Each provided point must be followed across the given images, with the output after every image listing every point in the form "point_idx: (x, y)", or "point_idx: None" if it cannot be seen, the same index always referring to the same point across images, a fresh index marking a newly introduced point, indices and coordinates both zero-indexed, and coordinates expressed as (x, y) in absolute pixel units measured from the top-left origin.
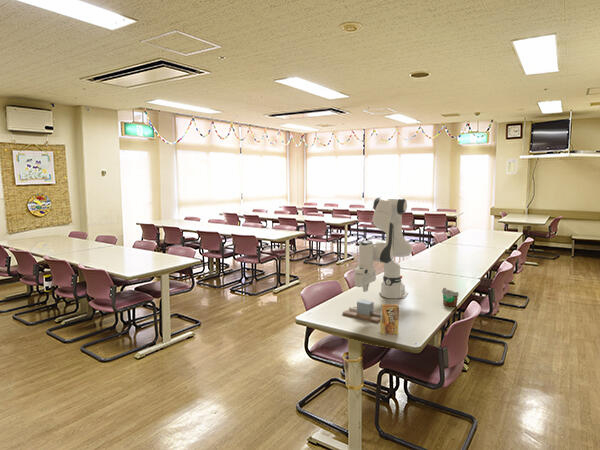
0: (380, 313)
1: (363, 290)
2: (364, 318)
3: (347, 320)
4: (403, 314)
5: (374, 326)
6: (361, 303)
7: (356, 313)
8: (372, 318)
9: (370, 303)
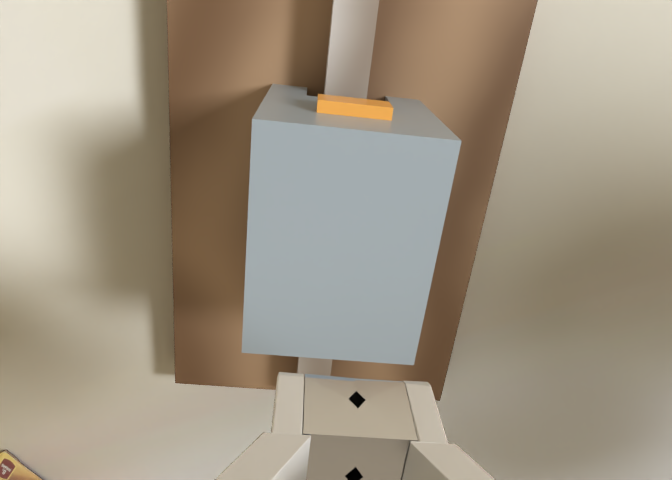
0: (423, 335)
1: (275, 398)
2: (175, 237)
3: (23, 45)
4: (563, 465)
5: (84, 372)
6: (249, 214)
7: (259, 84)
8: (207, 323)
9: (304, 353)
